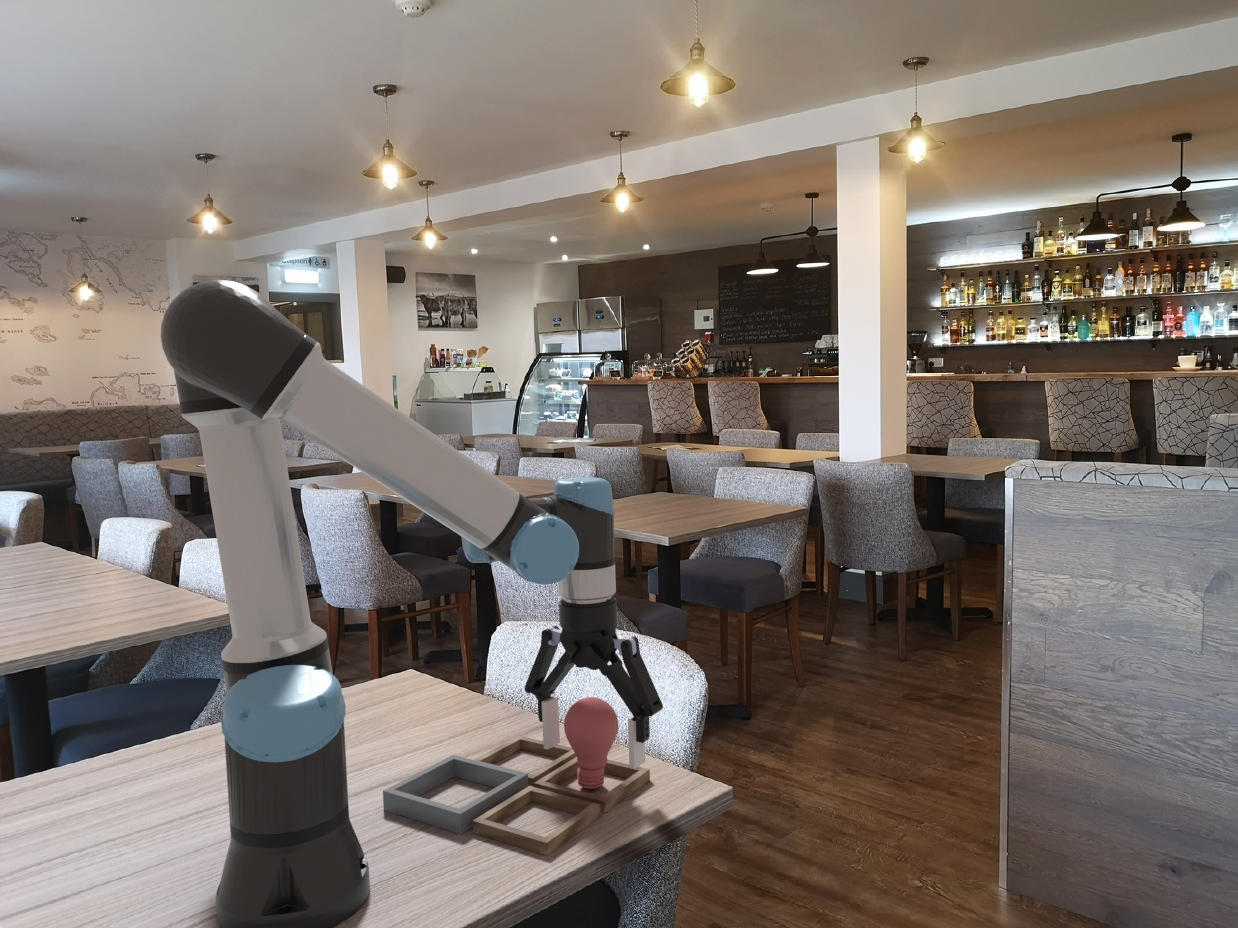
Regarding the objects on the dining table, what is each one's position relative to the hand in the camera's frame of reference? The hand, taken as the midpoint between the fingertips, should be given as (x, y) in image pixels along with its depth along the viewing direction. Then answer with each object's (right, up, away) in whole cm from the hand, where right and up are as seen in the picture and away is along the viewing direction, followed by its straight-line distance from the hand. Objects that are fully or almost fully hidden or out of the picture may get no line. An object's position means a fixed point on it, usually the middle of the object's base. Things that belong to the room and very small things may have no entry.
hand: (593, 755), depth 122 cm
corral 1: (-18, -5, -3) cm, 18 cm away
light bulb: (0, -5, 0) cm, 5 cm away
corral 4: (0, -4, 0) cm, 4 cm away
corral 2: (-10, -4, +8) cm, 13 cm away
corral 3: (-7, -5, -10) cm, 13 cm away
